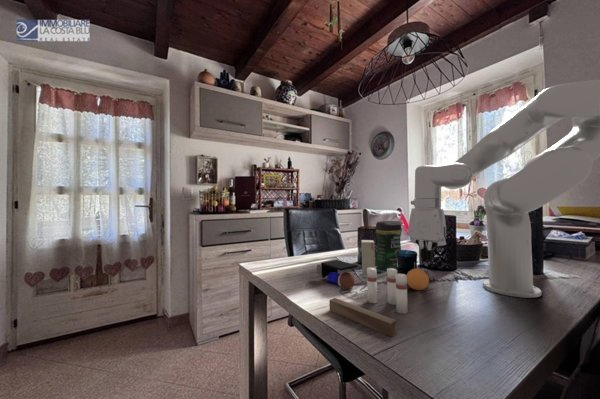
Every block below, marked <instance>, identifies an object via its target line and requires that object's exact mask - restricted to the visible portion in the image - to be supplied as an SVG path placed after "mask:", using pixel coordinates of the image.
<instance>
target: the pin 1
mask: <svg viewBox="0 0 600 399" xmlns="http://www.w3.org/2000/svg"><path fill="white" fill-rule="evenodd" d="M377 273H378V272H377V268H376V267H375V268H367V278H366V281H367V282H366V285H367V286H366V287H367V303H369V304H377V303H378V281H377V280H378V279H377V278H378V277H377V276H378V275H377Z"/></svg>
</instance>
